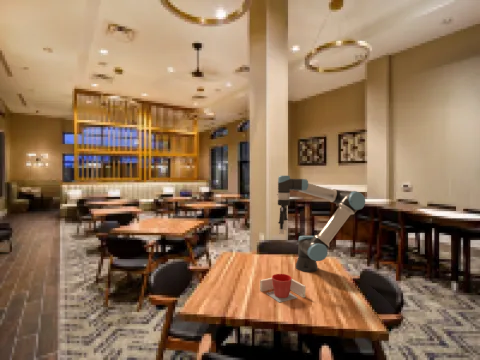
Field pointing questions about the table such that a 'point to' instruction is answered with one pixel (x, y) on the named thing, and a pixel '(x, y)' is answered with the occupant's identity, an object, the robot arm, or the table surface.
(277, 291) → the flower pot
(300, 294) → the corner wall
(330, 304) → the table surface
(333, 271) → the table surface
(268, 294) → the pad
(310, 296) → the table surface
